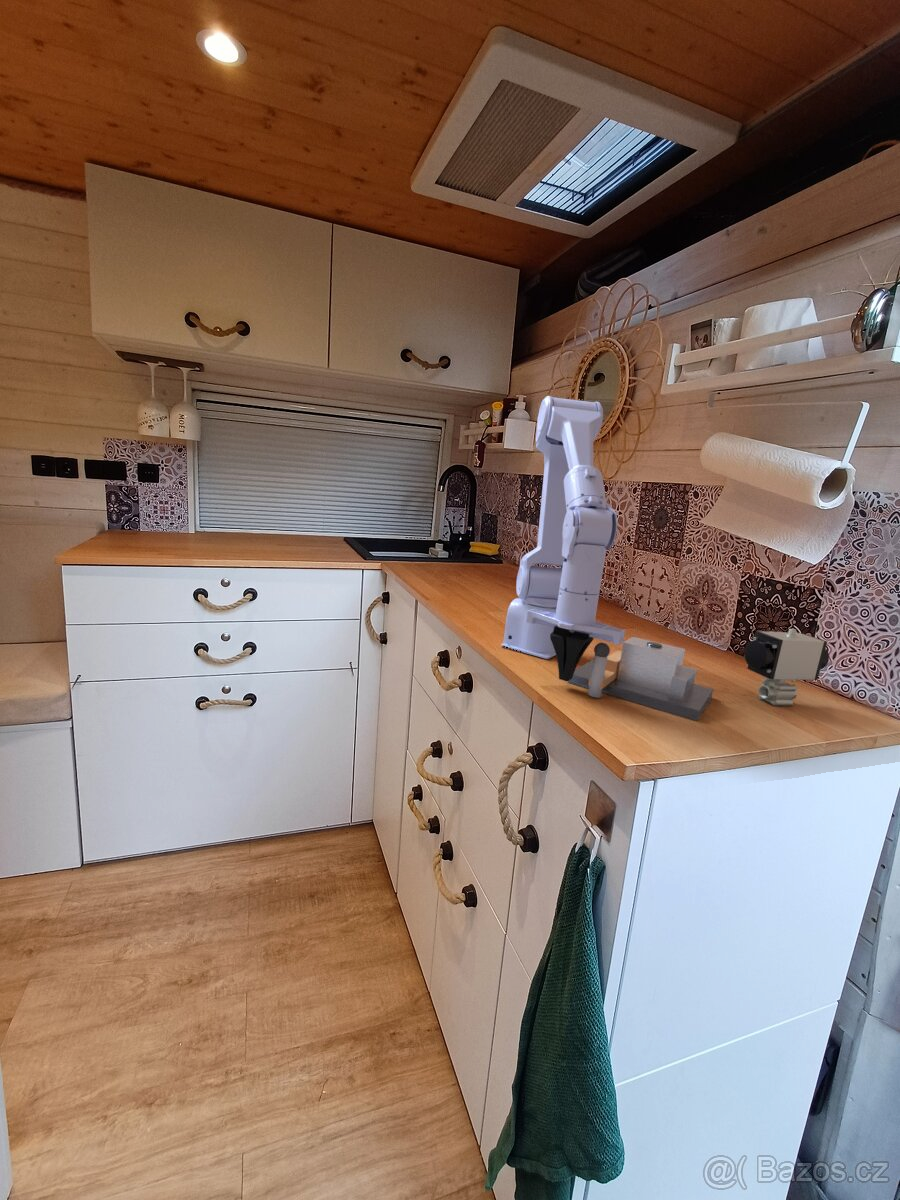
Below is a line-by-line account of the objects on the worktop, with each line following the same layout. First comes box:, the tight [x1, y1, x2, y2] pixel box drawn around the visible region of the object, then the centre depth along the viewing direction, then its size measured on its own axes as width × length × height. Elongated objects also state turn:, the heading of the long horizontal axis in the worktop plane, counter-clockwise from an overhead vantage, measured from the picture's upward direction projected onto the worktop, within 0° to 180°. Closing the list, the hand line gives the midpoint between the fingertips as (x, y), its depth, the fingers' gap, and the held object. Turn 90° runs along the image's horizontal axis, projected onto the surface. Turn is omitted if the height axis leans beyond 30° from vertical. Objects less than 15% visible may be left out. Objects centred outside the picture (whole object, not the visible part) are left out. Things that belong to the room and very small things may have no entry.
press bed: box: [567, 658, 714, 722], centre depth 86 cm, size 19×12×4 cm, turn 56°
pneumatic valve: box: [744, 628, 830, 707], centre depth 87 cm, size 6×12×12 cm, turn 104°
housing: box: [617, 636, 686, 694], centre depth 85 cm, size 8×5×6 cm, turn 56°
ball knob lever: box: [587, 642, 622, 698], centre depth 85 cm, size 2×13×8 cm, turn 146°
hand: (565, 678), depth 84 cm, fingers closed
